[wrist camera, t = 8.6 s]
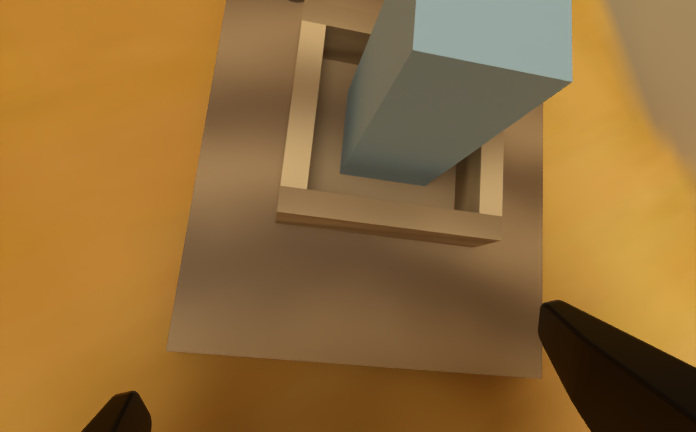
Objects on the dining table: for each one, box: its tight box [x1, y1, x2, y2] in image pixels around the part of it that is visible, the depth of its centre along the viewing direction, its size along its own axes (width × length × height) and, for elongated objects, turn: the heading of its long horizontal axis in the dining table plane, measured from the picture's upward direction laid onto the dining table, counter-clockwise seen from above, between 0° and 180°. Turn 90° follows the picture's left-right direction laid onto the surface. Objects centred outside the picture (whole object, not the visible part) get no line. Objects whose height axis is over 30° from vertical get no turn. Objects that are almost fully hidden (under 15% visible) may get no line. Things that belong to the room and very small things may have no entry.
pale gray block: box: [339, 0, 572, 186], centre depth 15 cm, size 4×4×10 cm
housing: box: [166, 0, 543, 379], centre depth 19 cm, size 20×16×4 cm
